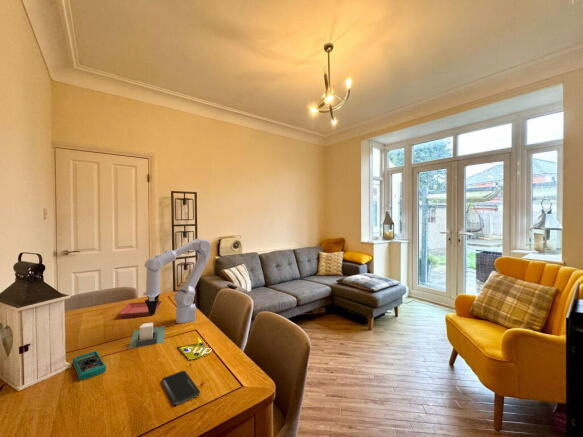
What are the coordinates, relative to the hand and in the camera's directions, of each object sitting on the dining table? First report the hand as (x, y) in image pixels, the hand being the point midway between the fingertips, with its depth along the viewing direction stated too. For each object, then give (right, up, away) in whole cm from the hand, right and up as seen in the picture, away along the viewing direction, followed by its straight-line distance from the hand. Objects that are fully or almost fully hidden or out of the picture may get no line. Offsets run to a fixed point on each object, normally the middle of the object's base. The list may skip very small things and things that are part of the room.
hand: (152, 311), depth 119 cm
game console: (+25, -11, -14) cm, 31 cm away
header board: (+2, -9, -7) cm, 12 cm away
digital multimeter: (-7, -10, -29) cm, 31 cm away
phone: (+30, -11, -39) cm, 50 cm away
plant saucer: (-19, -10, +24) cm, 32 cm away
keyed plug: (+4, -9, -11) cm, 15 cm away
